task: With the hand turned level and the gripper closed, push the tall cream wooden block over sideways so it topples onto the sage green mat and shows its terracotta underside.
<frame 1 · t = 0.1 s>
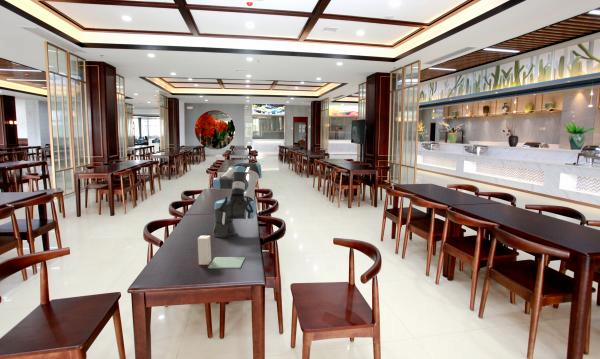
hand: (234, 223, 199), 15 cm above the table, tool tilted 35°, fingers open, 13 cm apart
cream block: (205, 263, 180), on the table
sage mat: (227, 263, 179), on the table
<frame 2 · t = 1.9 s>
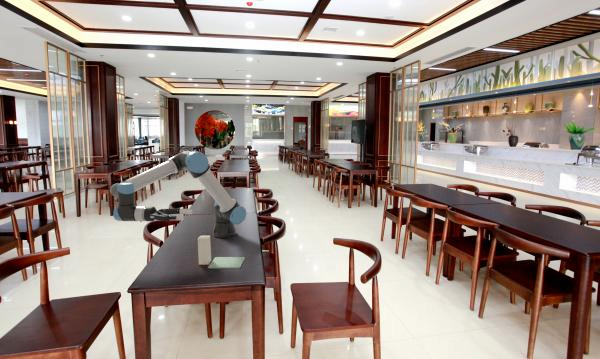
hand: (188, 214, 177), 26 cm above the table, tool horizontal, fingers open, 13 cm apart
nothing on the table moved.
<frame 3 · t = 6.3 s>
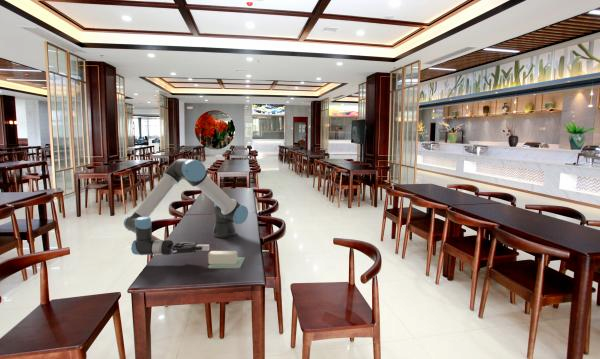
hand: (208, 247, 178), 8 cm above the table, tool horizontal, fingers closed
cream block: (209, 257, 179), point 3 cm above the table, tilted 90°, touching sage mat
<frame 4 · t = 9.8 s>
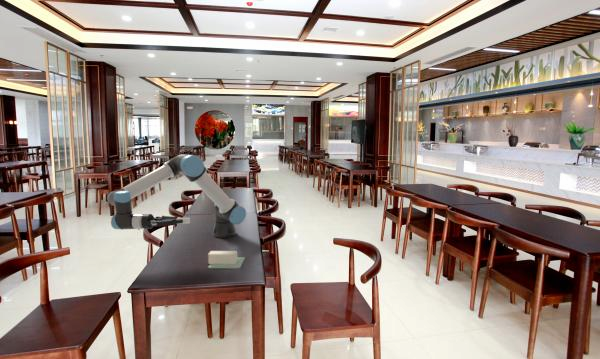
hand: (189, 220, 176), 23 cm above the table, tool horizontal, fingers closed
nothing on the table moved.
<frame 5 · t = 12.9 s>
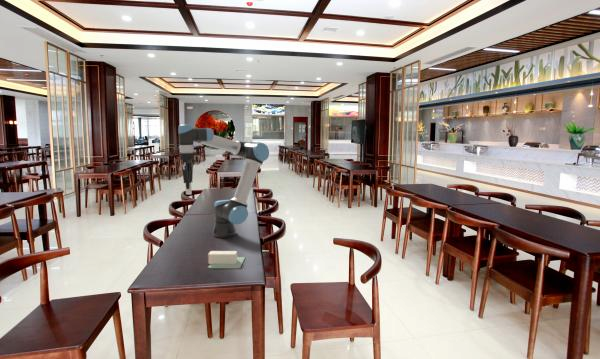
hand: (188, 194, 196), 32 cm above the table, tool pointing down, fingers closed
nothing on the table moved.
at the end: cream block tilted 90°; cream block inside the target area (1.2 cm from its centre), point 3.1 cm above the table; cream block touching sage mat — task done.
